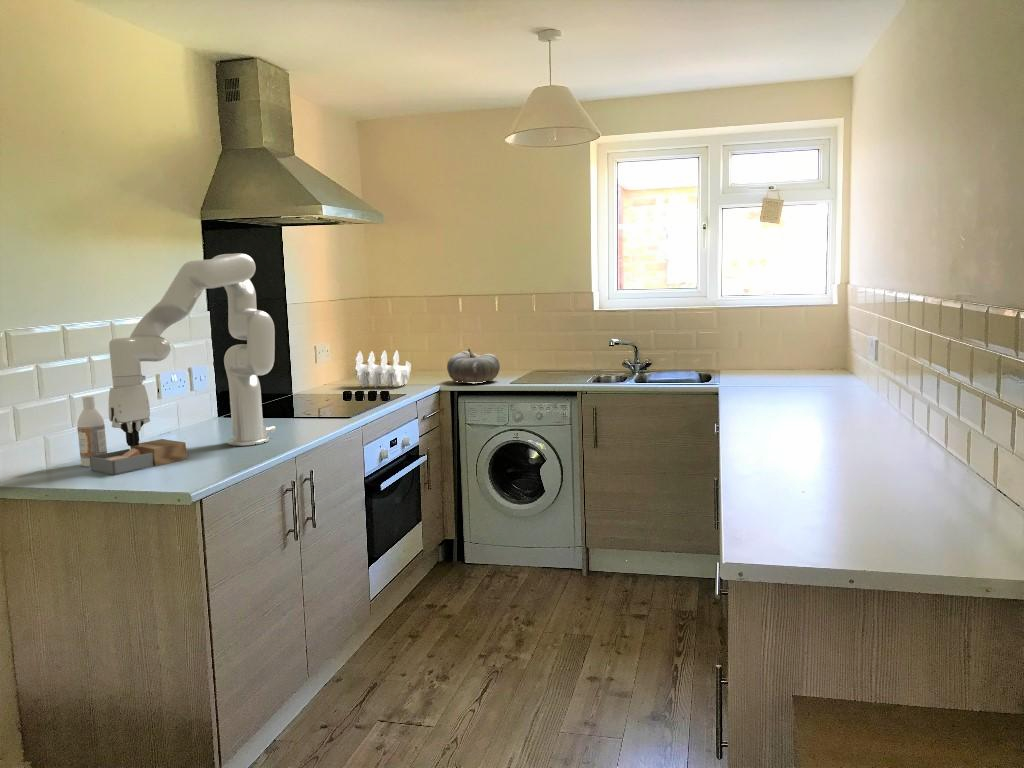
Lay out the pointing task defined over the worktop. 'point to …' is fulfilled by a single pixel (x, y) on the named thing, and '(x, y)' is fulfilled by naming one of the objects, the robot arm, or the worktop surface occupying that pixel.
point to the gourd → (473, 367)
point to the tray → (120, 463)
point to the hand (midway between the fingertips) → (133, 445)
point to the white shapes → (381, 370)
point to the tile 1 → (131, 453)
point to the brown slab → (163, 451)
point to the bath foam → (90, 432)
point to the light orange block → (115, 458)
